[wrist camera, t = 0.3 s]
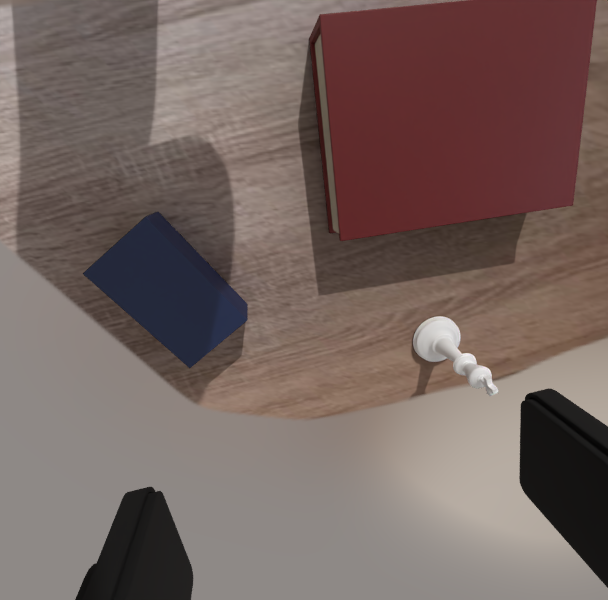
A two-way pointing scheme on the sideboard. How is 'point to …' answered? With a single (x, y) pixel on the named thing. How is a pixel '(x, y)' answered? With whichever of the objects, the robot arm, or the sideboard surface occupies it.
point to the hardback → (449, 111)
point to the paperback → (169, 289)
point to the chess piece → (450, 351)
